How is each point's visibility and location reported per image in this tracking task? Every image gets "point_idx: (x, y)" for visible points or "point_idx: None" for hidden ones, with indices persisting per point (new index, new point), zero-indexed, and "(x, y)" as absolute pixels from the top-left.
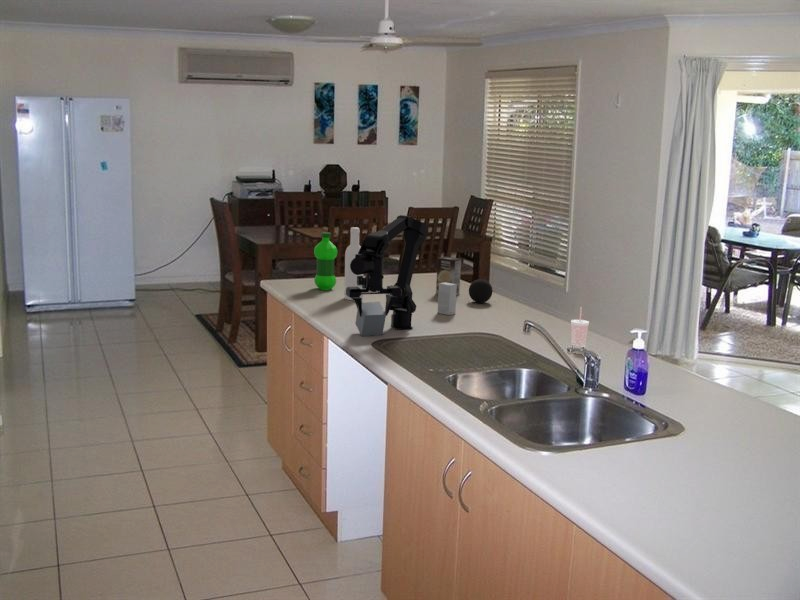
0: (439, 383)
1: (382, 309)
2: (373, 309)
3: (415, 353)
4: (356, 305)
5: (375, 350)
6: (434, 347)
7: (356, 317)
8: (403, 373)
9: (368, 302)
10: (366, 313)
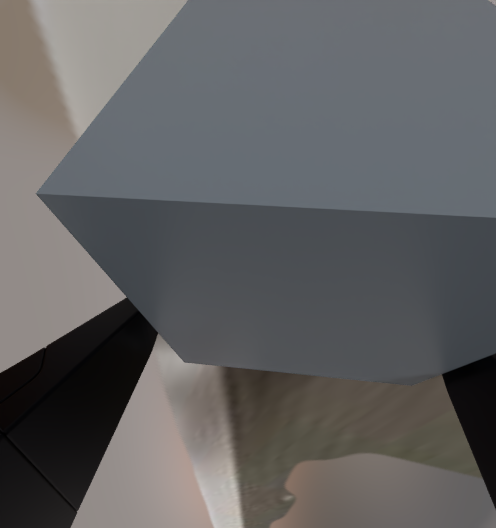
0: (262, 522)
1: (454, 360)
2: (320, 343)
3: (328, 439)
4: (25, 373)
5: (216, 391)
6: (442, 421)
7: (173, 28)
8: (223, 492)
9: (350, 212)
10: (203, 357)
